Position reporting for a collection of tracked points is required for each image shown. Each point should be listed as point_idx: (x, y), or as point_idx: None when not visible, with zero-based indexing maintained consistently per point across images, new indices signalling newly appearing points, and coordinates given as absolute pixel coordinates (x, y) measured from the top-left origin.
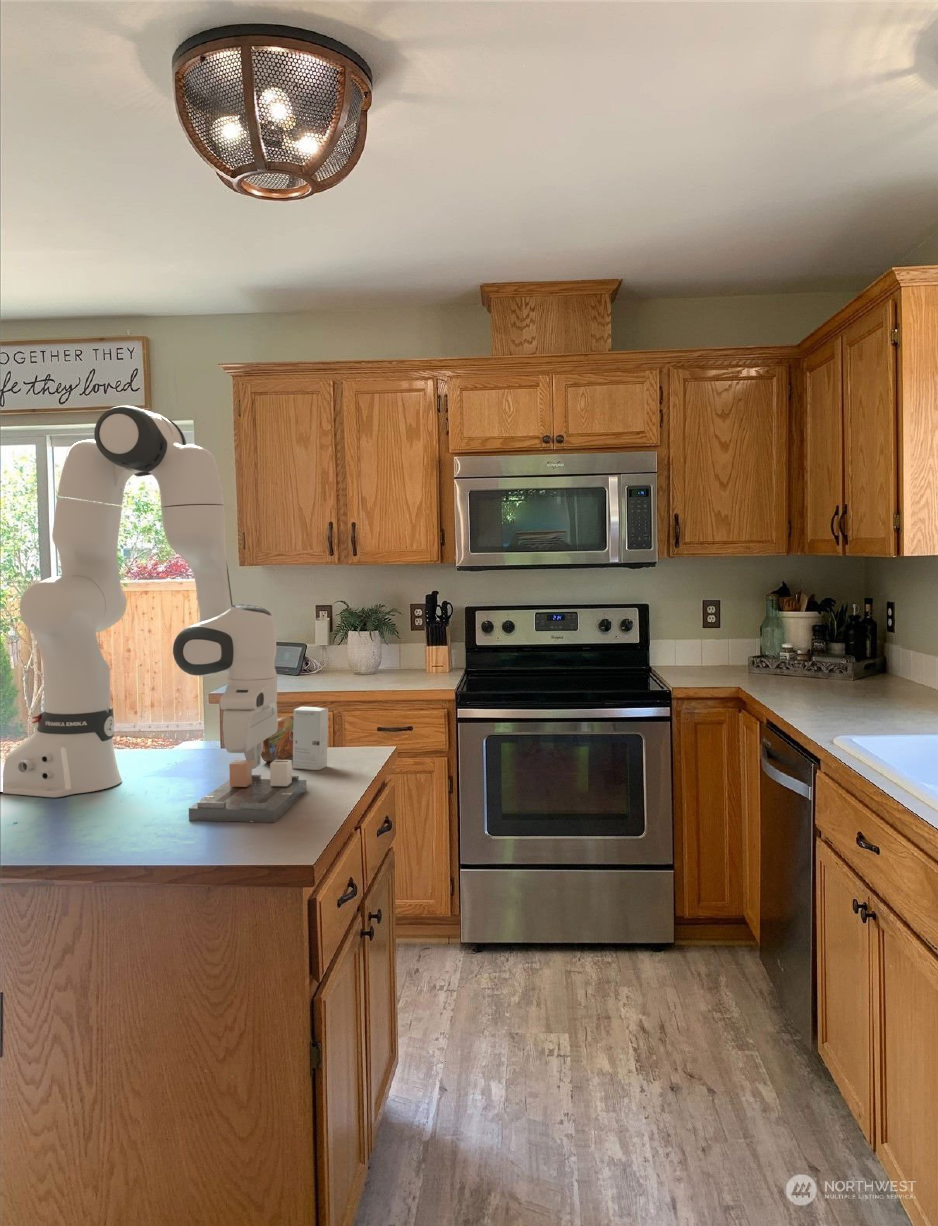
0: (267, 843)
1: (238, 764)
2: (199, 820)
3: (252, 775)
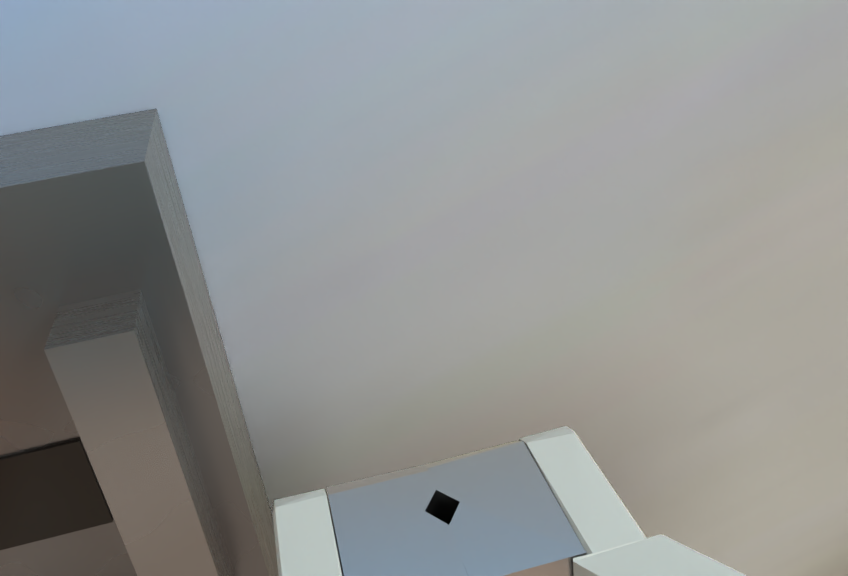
0: None
1: None
2: None
3: (165, 571)
